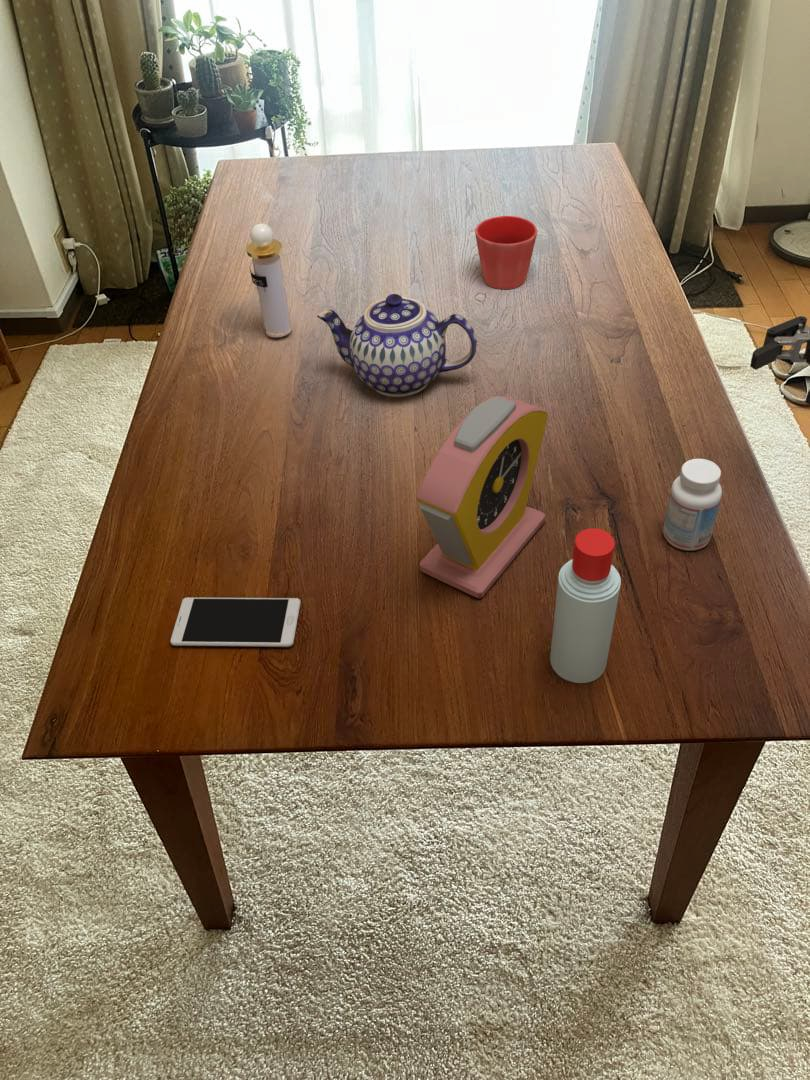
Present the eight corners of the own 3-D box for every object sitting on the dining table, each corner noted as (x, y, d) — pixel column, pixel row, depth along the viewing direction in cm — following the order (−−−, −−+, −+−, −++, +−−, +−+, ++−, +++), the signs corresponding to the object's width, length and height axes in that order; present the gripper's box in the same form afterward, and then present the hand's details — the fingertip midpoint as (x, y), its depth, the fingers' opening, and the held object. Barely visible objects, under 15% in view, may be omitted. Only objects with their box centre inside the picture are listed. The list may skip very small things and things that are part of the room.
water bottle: (616, 673, 101) (638, 558, 88) (565, 690, 100) (580, 575, 87) (590, 632, 106) (607, 516, 92) (540, 648, 104) (551, 532, 91)
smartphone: (292, 645, 106) (168, 643, 107) (293, 648, 106) (169, 646, 107) (301, 597, 111) (182, 596, 112) (301, 600, 111) (184, 599, 112)
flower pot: (504, 301, 159) (506, 250, 152) (463, 278, 165) (463, 228, 158) (546, 279, 163) (550, 229, 157) (505, 259, 170) (506, 209, 163)
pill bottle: (701, 517, 118) (718, 452, 110) (716, 550, 114) (734, 484, 106) (656, 521, 118) (669, 456, 110) (668, 554, 114) (683, 488, 106)
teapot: (484, 360, 146) (485, 277, 136) (466, 415, 136) (466, 330, 126) (339, 345, 152) (329, 265, 141) (311, 397, 142) (298, 315, 131)
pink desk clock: (468, 615, 108) (468, 483, 93) (406, 585, 112) (396, 453, 97) (555, 510, 121) (568, 377, 105) (496, 486, 125) (500, 354, 109)
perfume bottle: (281, 321, 158) (263, 212, 144) (302, 333, 155) (285, 223, 141) (256, 334, 156) (234, 225, 141) (276, 346, 152) (256, 236, 138)
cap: (617, 575, 91) (622, 549, 88) (583, 586, 90) (586, 560, 87) (599, 550, 93) (603, 524, 91) (565, 560, 93) (568, 534, 90)
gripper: (838, 280, 111) (742, 324, 106) (938, 332, 103) (838, 383, 98) (822, 332, 117) (729, 376, 112) (916, 385, 108) (820, 436, 103)
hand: (780, 379), depth 105 cm, fingers open, 8 cm apart
